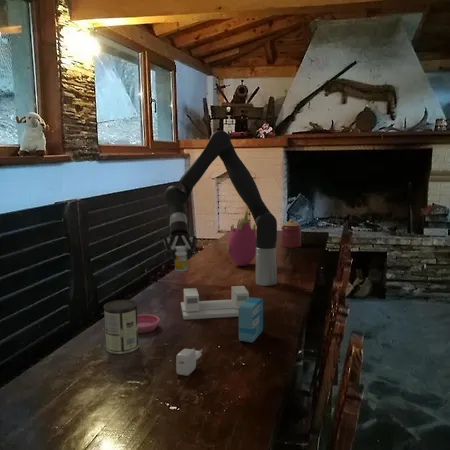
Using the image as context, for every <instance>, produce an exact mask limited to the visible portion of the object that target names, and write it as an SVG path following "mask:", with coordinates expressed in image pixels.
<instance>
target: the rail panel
mask: <svg viewBox="0 0 450 450" xmlns="http://www.w3.org/2000/svg"><path fill="white" fill-rule="evenodd" d="M230 293H231V297H230V298H231V299H219V300H218V299H217V300H216V299H215V300H200V295H199V292H198V289H197V287H191V288H183V301H181V302H180V307H181V308H180V310H181V314H182V317H183V318H182V319H183V320H185V321H186V320H200V319H201V320H202V319H215V318H219V319H220V318H234V317H239V307H240V305H241V304H243V303H244V302H245V301H246V300H247V299H249V298H250V293H249V290H248V289H247V288H246V287H245V285H235V286H233V285H232V286H231V292H230Z"/></svg>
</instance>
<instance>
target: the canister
mask: <svg viewBox="0 0 450 450" xmlns="http://www.w3.org/2000/svg"><path fill="white" fill-rule="evenodd" d="M280 232H281V233H280V246H281V247H282V248H289V249H290V248H291V249H293V248H300V247H301V246H302V227H301V224H300V223H299V222H297V221H294V219H293V218H290V219H289V221H285V222H283V223H282V226H281V231H280Z"/></svg>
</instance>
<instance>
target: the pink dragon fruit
mask: <svg viewBox="0 0 450 450" xmlns="http://www.w3.org/2000/svg"><path fill="white" fill-rule="evenodd" d="M256 231H257V226H256V224H255V223H254V224H252V227H251V225H250V220H249V213H248V210H245V214H244V217H243V218H240V219H238V220H237V223H236V228H235V225H234V224H231V226H230V233H229V236H228V239H227V240H228V241H227V244H226V250H227V254H228V255H229V257H230V259H231V261H232V262H233V263H234V264H235V265H237V266H241V267H244V266H245V267H246V266H248V265H249V264H251V263H252V261H253V260H254V258H256Z"/></svg>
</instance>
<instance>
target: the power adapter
mask: <svg viewBox="0 0 450 450" xmlns="http://www.w3.org/2000/svg"><path fill="white" fill-rule="evenodd" d="M202 352H204V349H203V348H201V349H199V350H196V347H193V348H183V349H182V350H181V351H179V352H178V353H177V354H176V357H175V367H176V369H175V370H176V371H175V372H176V374H177V375H180V376H187V377H188V376H190V375H191V374H192V373H193V371H195V370H196V368H197V360H198V359H200V358H201V357H202V355H203V353H202Z"/></svg>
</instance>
